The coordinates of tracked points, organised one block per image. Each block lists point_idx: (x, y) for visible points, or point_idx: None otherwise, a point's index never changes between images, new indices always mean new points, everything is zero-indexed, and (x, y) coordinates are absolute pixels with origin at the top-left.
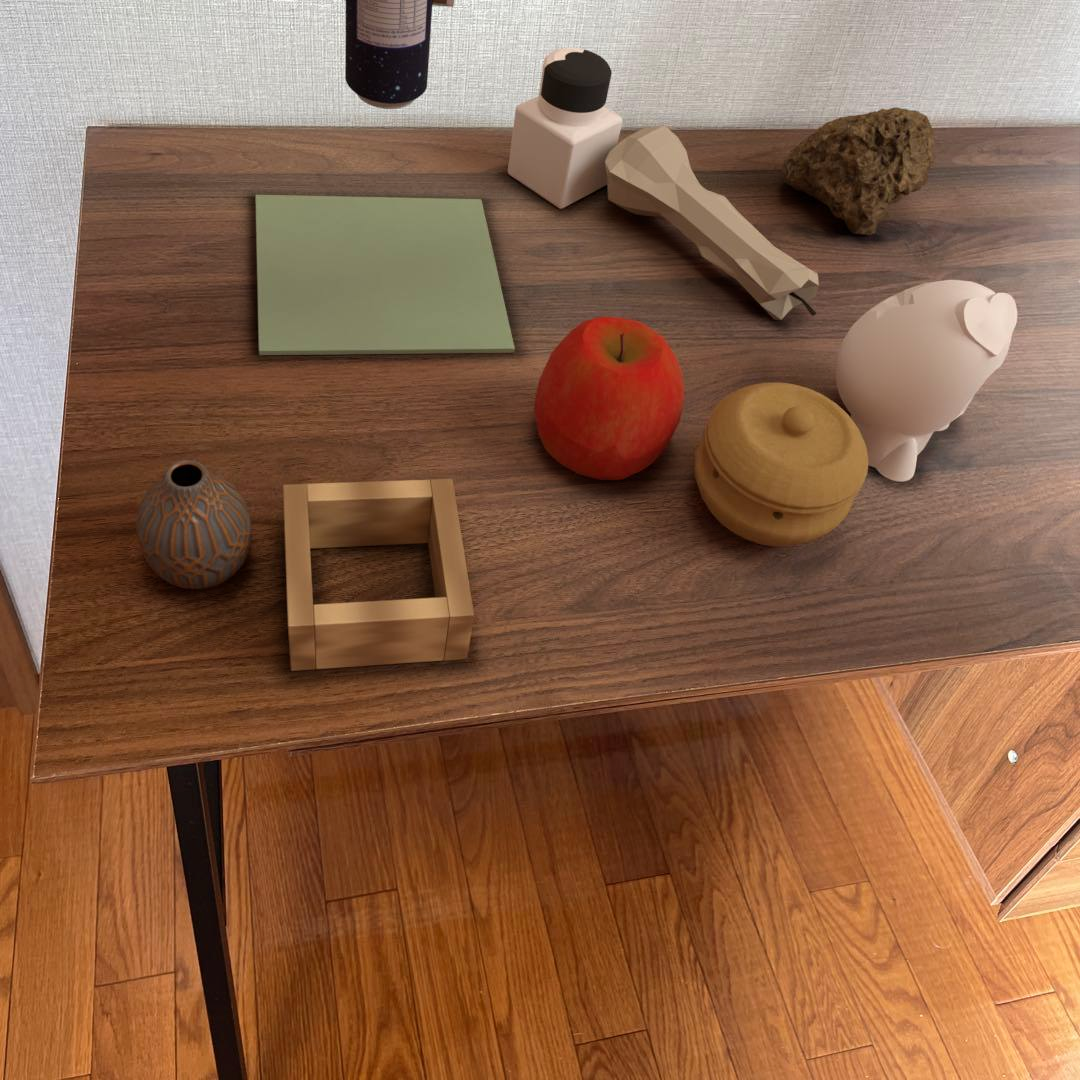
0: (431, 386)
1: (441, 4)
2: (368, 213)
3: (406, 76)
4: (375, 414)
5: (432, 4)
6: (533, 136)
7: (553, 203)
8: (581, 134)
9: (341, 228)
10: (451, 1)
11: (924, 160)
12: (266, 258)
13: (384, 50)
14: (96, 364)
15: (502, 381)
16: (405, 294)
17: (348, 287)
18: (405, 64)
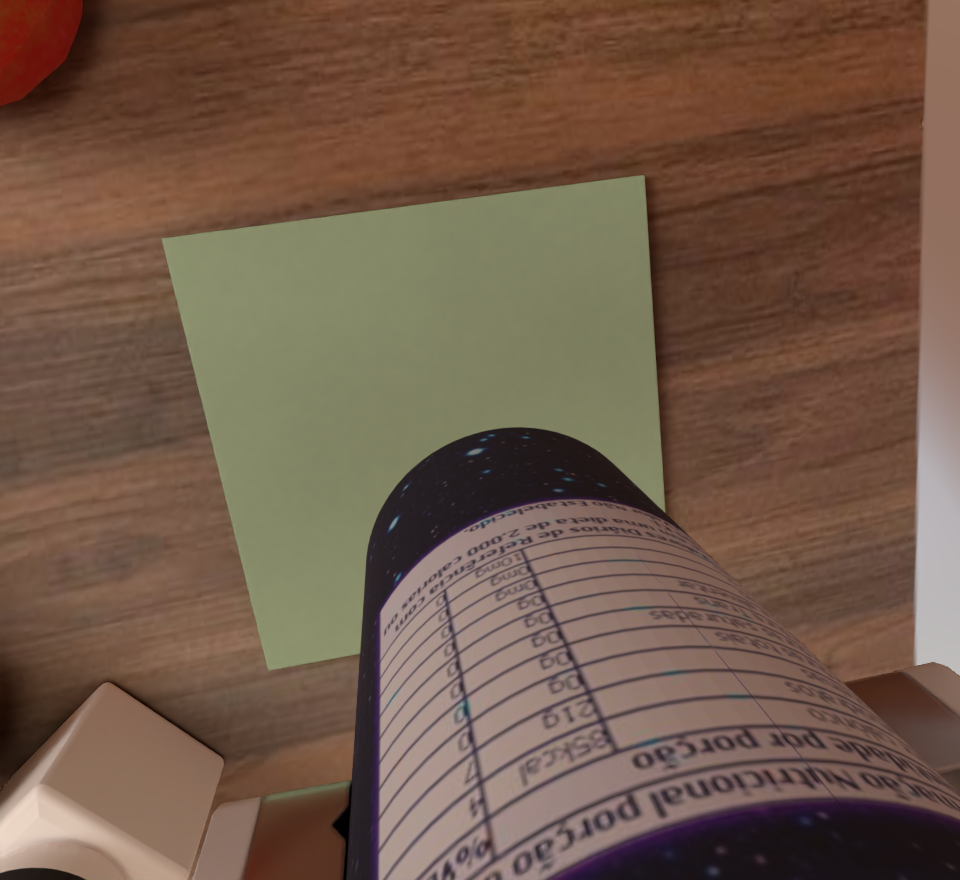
0: (323, 121)
1: (293, 794)
2: None
3: (446, 481)
4: (424, 28)
5: (348, 781)
6: (149, 812)
7: (122, 692)
8: (17, 819)
9: None
10: (226, 817)
11: None
12: (644, 430)
13: (568, 491)
14: (895, 124)
15: (181, 150)
16: (392, 370)
17: (498, 373)
18: (458, 497)
